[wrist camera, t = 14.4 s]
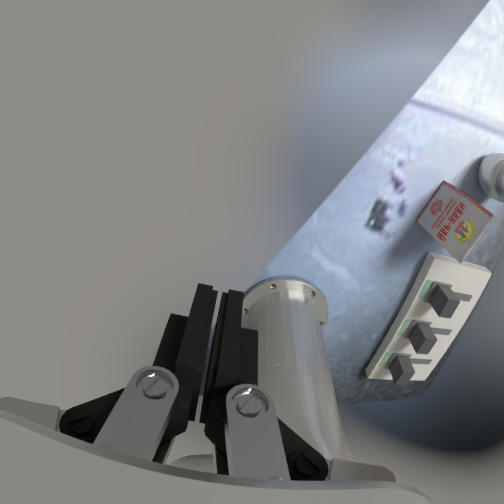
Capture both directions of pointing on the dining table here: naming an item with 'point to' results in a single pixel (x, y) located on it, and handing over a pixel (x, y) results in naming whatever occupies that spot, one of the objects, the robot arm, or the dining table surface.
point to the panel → (430, 314)
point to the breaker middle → (421, 336)
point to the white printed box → (454, 220)
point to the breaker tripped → (442, 299)
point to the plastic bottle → (492, 176)
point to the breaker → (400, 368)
